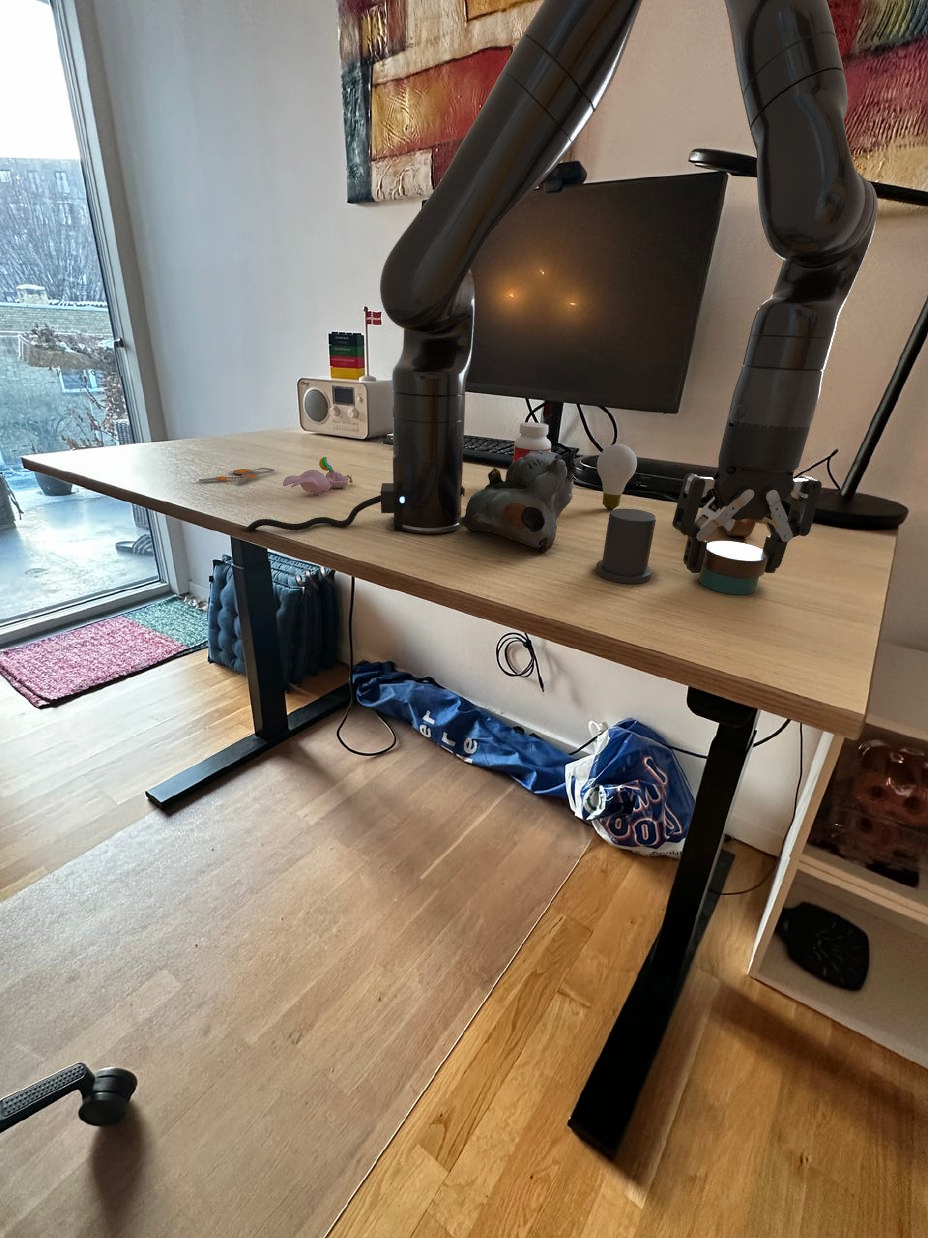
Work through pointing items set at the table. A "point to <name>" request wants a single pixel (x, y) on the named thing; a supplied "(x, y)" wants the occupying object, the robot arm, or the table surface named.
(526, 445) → the pill bottle
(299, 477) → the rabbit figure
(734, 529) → the tin
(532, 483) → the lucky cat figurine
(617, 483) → the light bulb
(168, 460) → the table surface
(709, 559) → the walnut chip
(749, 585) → the teal chip
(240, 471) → the key chain
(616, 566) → the upturned cup
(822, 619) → the table surface
